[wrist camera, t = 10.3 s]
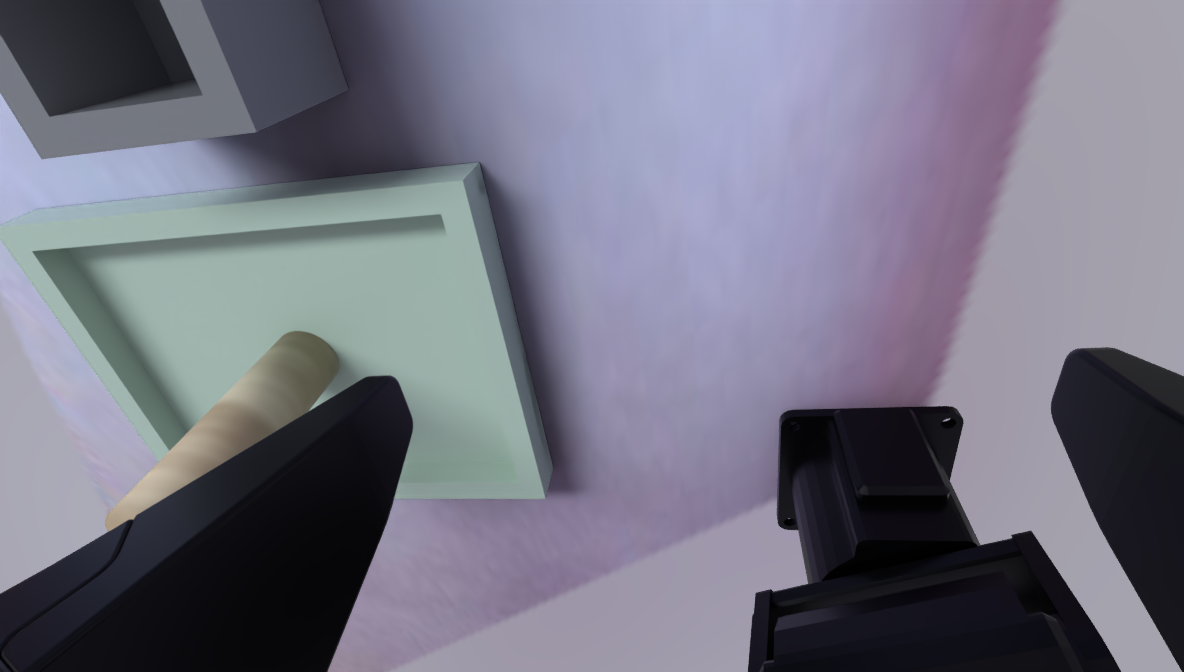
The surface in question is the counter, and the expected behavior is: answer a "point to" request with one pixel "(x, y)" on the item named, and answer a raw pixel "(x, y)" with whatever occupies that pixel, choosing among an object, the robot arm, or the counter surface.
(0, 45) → the grey square sleeve
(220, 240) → the tray
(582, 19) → the counter surface
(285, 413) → the dowel pin
